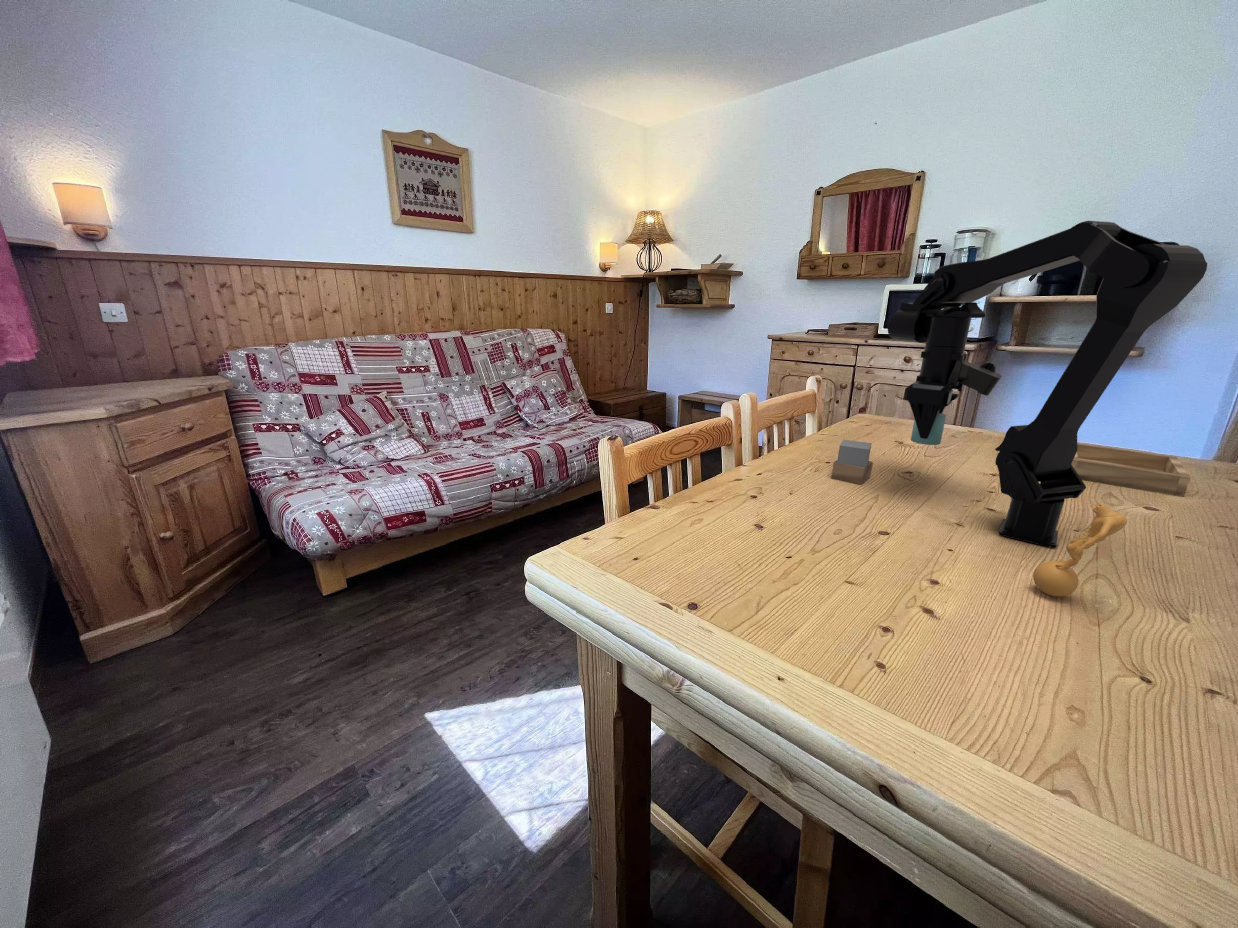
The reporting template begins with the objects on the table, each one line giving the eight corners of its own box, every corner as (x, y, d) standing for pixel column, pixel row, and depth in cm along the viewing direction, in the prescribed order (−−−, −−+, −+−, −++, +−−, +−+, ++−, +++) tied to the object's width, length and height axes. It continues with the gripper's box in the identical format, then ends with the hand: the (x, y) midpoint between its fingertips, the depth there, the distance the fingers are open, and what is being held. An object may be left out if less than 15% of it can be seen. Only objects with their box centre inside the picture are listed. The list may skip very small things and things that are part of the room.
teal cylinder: (937, 446, 86) (943, 418, 84) (907, 441, 89) (913, 414, 87) (942, 441, 89) (948, 413, 88) (913, 436, 92) (918, 410, 90)
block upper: (865, 467, 93) (869, 449, 92) (837, 463, 95) (839, 445, 94) (868, 460, 97) (871, 443, 96) (840, 456, 99) (843, 439, 98)
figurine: (1038, 574, 63) (1065, 485, 59) (1102, 595, 58) (1136, 500, 55) (1020, 599, 58) (1048, 502, 54) (1089, 623, 53) (1125, 520, 49)
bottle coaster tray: (1183, 496, 88) (1190, 477, 87) (1064, 476, 98) (1069, 459, 96) (1170, 474, 99) (1176, 456, 98) (1064, 458, 109) (1069, 442, 108)
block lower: (860, 486, 93) (863, 468, 92) (831, 479, 97) (833, 462, 96) (870, 478, 97) (873, 461, 96) (841, 472, 101) (843, 456, 99)
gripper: (998, 353, 72) (974, 456, 77) (1009, 344, 85) (987, 433, 90) (911, 348, 79) (894, 443, 84) (934, 341, 92) (918, 423, 97)
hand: (926, 435), depth 89 cm, fingers closed on teal cylinder, 5 cm apart
